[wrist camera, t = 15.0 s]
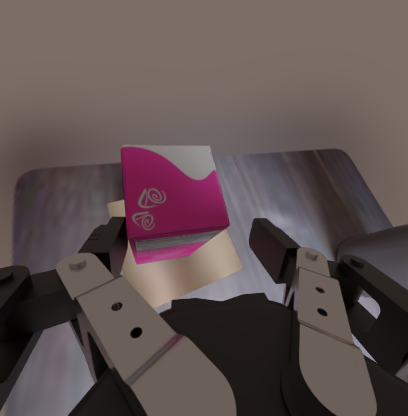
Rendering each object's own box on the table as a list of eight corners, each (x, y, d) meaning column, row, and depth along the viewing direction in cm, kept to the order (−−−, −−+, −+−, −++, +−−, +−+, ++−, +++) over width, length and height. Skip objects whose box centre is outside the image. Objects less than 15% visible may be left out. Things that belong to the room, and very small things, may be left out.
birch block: (196, 198, 30) (204, 179, 25) (226, 272, 27) (243, 268, 22) (117, 220, 27) (107, 203, 21) (141, 309, 23) (135, 316, 18)
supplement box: (129, 212, 21) (119, 138, 11) (182, 208, 23) (214, 143, 13) (133, 266, 19) (125, 238, 9) (190, 256, 21) (237, 224, 11)
